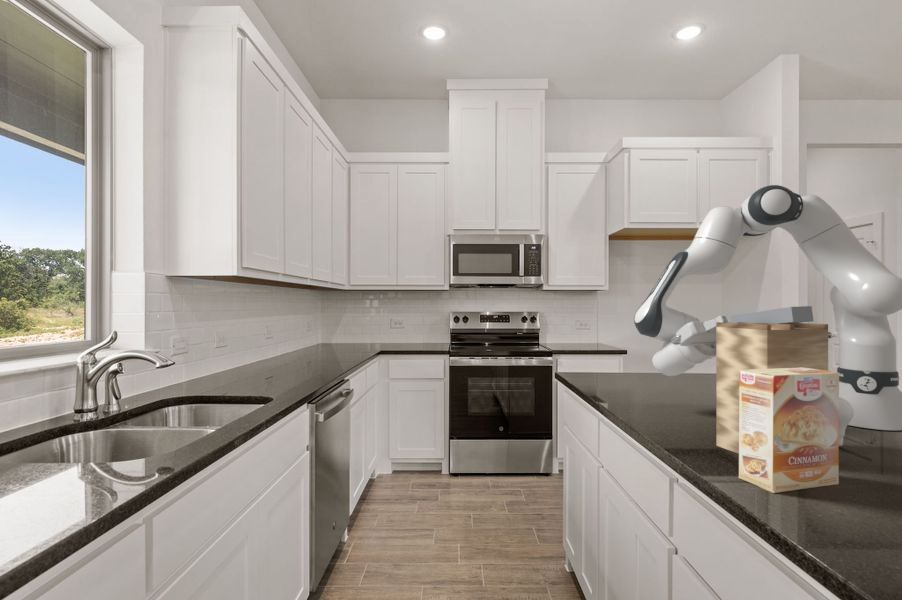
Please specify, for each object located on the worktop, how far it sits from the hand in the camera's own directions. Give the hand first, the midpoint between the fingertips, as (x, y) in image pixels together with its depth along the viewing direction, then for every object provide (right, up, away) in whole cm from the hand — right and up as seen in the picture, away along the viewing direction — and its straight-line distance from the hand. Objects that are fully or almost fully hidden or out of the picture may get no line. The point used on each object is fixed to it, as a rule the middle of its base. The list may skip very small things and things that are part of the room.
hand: (740, 318), depth 110 cm
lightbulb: (+15, -28, -9) cm, 33 cm away
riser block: (-1, -28, -12) cm, 30 cm away
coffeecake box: (-10, -28, -29) cm, 41 cm away
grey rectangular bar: (0, -1, -9) cm, 9 cm away
